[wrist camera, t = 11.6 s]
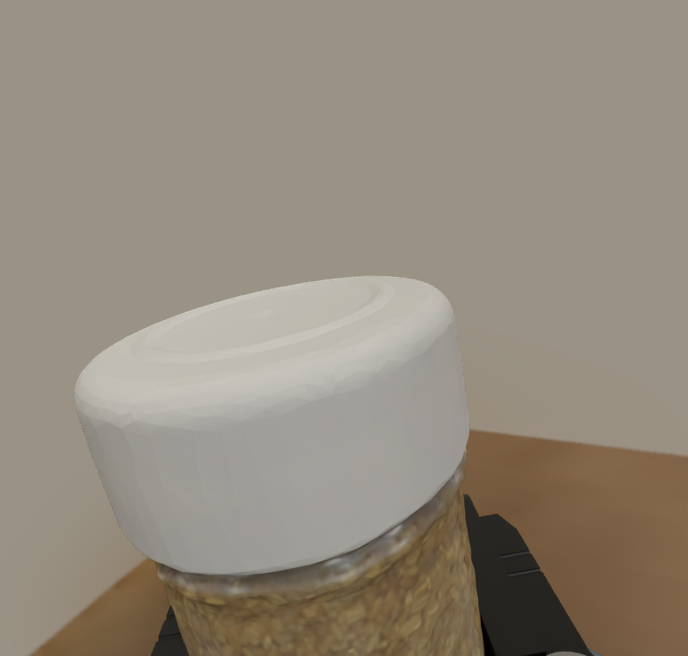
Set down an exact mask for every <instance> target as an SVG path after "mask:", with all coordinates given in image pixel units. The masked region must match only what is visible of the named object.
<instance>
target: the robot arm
mask: <svg viewBox="0 0 688 656" xmlns="http://www.w3.org/2000/svg"><path fill="white" fill-rule="evenodd" d="M463 497H464V507H465V520H466V526H467V531H468V537H469V543H470V548H471V561H472V564H473V567H474V571H475V580H476V591H477V596H478V607H479V613H480V621H481V630H482V635H483V640H484V648H485V656H594V655H593V654H592V653H591V652H590V651H589V649H588V648H587V646H586V645H585V643H584V641H583V640H582V638H581V636H580V635H579V633H578V631H577V630H576V628H575V626H574V625H573V623H572V621H571V620H570V618H569V616H568V614H567V613H566V611H565V609H564V608H563V606H562V604H561V603H560V601H559V599H558V598H557V596H556V594H555V593H554V591H553V589H552V588H551V586H550V584H549V583H548V581H547V579H546V577H545V576H544V574H543V572H541V571H540V567H539V566H538V564H537V562H536V561H535V559H534V557H533V556H532V554H530V552H529V549H528V547H527V546H526V544H525V542H524V540H523V539H522V537H521V535H520V534H519V532H518V530H517V529H516V528H515V527H513V526H512V525H511V524H510V523H508V522H507V521H506V520H505V519H503V518H502V517H501V516H499V515H498V514H493V515H488V516H482V517H479V515H478V513H477V511H476V509H475V507H474V505H473V503H472V501H471V499H470V497H469V496H468V495H467V494H463ZM158 637H159V640H158V642H156V644H155V647H154V649H153V652H152V655H151V656H189V653H188V651H187V648H186V645H185V643H184V640H183V638H182V636H181V633H180V630H179V626H178V623H177V620H176V616H175V614H174V611H173V608H172V606H171V605H170V608H169V611H168V613H167V620H166V621H164V624H163V626H162V629H161V631H160V634H159V636H158Z"/></svg>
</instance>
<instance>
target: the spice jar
mask: <svg viewBox="0 0 688 656" xmlns="http://www.w3.org/2000/svg"><path fill="white" fill-rule="evenodd" d="M454 319H455V318H454V314H453V311H452V308H451V305H450V303H449V301H448V300H447V298H446V297H445V295H444V294H443V293H442V292H440V291H439V290H437V289H436V288H435V287H433V286H432V285H430V284H428V283H425V282H423V281H419V280H414V279H409V278H402V277H394V276H359V277H345V278H337V279H327V280H320V281H312V282H305V283H300V284H294V285H289V286H284V287H278V288H273V289H268V290H264V291H260V292H255V293H251V294H247V295H243V296H238V297H234V298H230V299H227V300H223V301H220V302H216V303H213V304H209V305H206V306H203V307H200V308H197V309H194V310H191V311H188V312H184V313H182V314H179V315H176V316H174V317H171V318H169V319H166V320H163V321H161V322H158V323H155V324H153V325H151V326H149V327H147V328H144V329H142V330H140V331H138V332H136V333H134V334H132V335H129V336H128V337H126V338H124V339H122V340H120V341H119V342H117V343H115V344H114V345H112V346H110V347H108V348H107V349H106V350H104V351H103V352H101V353H100V354H99V355H97V356H96V357H95V358H94V359H93V360H92V361H91V362H90V363H89V364H88V365H87V366H86V367H85V369H84V370H83V371H82V373H81V374H80V375H79V377H78V380H77V383H76V386H75V393H74V401H75V406H76V411H77V414H78V417H79V420H80V423H81V426H82V429H83V432H84V434H85V437H86V440H87V443H88V446H89V449H90V452H91V455H92V458H93V460H94V463H95V465H96V468H97V470H98V473H99V475H100V478H101V481H102V483H103V486H104V488H105V491H106V493H107V496H108V499H109V501H110V504H111V506H112V509H113V511H114V514H115V516H116V519H117V521H118V524H119V526H120V528H121V529H122V530H123V532H124V534H125V535H126V537H127V538H128V540H129V541H130V542H131V543H132V544H133V545H134V546H135V547H136V548H137V549H138V550H139V551H140V552H141V553H142V554H144V555H145V556H147V557H149V558H151V559H152V560H154V561H155V563H156V566H157V568H158V570H157V575H158V577H159V579H160V580H161V581H162V582H164V586H165V589H166V594H167V599H168V601H169V602H170V604H171V606H172V608H173V611H174V614H175V616H176V620H177V623H178V626H179V630H180V633H181V636H182V638H183V640H184V643H185V645H186V648H187V651H188V653H189V656H485V648H484V640H483V635H482V630H481V621H480V613H479V607H478V596H477V591H476V580H475V571H474V567H473V564H472V561H471V548H470V543H469V537H468V531H467V526H466V520H465V507H464V497H463V492H462V488H461V485H462V483H463V480H464V475H465V469H466V463H467V450H466V449H465V447H466V444H467V440H468V437H469V428H470V427H469V415H468V406H467V399H466V390H465V382H464V374H463V369H462V362H461V355H460V349H459V343H458V337H457V331H456V325H455V320H454Z"/></svg>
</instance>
